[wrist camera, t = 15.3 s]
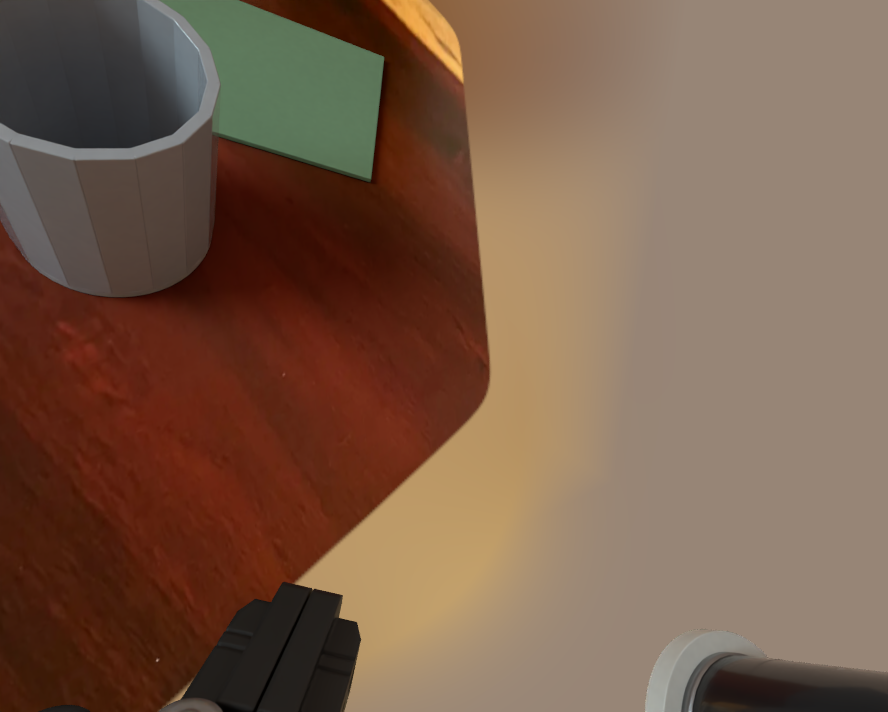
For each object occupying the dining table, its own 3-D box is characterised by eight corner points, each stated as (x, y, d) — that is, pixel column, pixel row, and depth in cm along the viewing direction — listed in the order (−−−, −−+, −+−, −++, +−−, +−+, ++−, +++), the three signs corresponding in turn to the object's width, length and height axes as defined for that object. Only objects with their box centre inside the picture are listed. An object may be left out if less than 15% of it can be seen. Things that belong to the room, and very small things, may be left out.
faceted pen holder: (226, 177, 37) (237, 23, 27) (194, 314, 33) (192, 190, 23) (43, 127, 34) (-24, -73, 24) (-22, 274, 29) (-138, 105, 19)
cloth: (383, 60, 48) (384, 56, 48) (369, 182, 42) (371, 179, 42) (102, -48, 40) (101, -54, 40) (39, 82, 35) (37, 77, 34)
